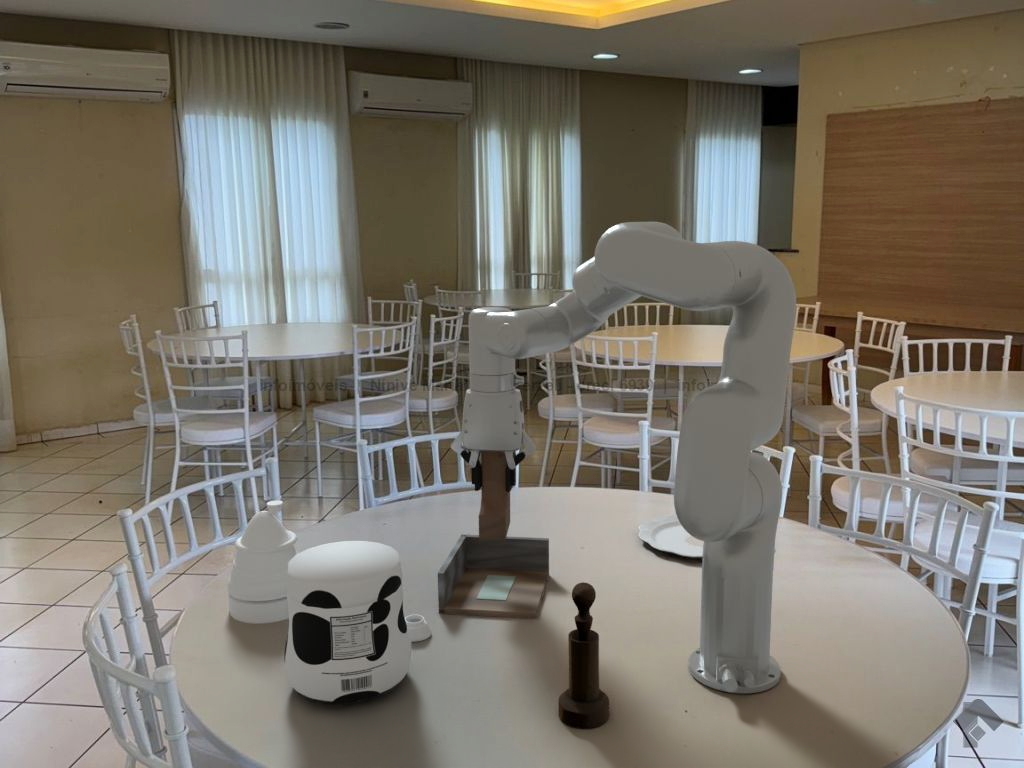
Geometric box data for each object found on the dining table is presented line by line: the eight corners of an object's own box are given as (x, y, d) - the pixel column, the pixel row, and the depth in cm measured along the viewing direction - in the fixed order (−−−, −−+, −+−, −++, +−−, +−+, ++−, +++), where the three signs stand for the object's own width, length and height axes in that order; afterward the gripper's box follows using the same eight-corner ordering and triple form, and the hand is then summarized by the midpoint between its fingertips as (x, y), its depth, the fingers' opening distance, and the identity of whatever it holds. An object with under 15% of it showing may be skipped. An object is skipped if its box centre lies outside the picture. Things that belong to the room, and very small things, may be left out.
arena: (535, 618, 142) (535, 577, 141) (438, 613, 145) (437, 573, 143) (549, 575, 159) (548, 538, 158) (462, 570, 162) (461, 534, 161)
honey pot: (309, 587, 156) (303, 489, 152) (308, 618, 143) (301, 512, 140) (233, 594, 153) (225, 495, 150) (225, 627, 141) (217, 519, 137)
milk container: (350, 641, 135) (344, 530, 132) (437, 673, 125) (433, 553, 122) (260, 691, 121) (250, 567, 118) (349, 730, 111) (342, 597, 108)
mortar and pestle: (578, 696, 119) (578, 570, 115) (619, 712, 115) (620, 582, 111) (548, 718, 114) (547, 586, 110) (590, 735, 110) (590, 599, 106)
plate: (794, 554, 168) (795, 544, 168) (681, 575, 159) (681, 565, 159) (718, 514, 191) (718, 506, 191) (616, 531, 182) (616, 522, 182)
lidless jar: (434, 641, 135) (427, 627, 140) (433, 623, 135) (426, 609, 140) (402, 646, 134) (395, 632, 139) (401, 628, 133) (395, 614, 138)
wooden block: (505, 541, 146) (504, 436, 143) (478, 541, 146) (477, 435, 143) (510, 523, 155) (509, 423, 151) (484, 522, 155) (483, 422, 152)
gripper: (546, 379, 148) (546, 484, 151) (447, 377, 150) (450, 480, 154) (540, 388, 140) (540, 498, 144) (436, 386, 143) (439, 493, 146)
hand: (493, 488), depth 149 cm, fingers closed on wooden block, 4 cm apart
